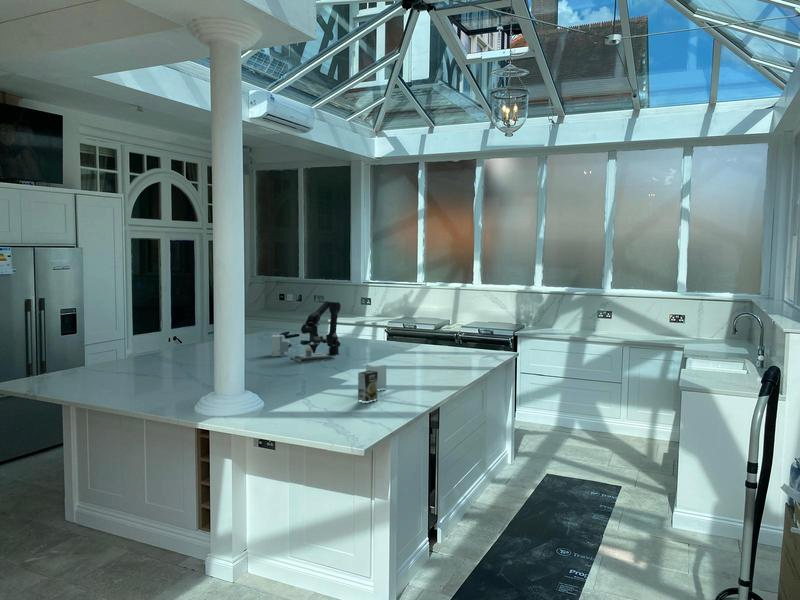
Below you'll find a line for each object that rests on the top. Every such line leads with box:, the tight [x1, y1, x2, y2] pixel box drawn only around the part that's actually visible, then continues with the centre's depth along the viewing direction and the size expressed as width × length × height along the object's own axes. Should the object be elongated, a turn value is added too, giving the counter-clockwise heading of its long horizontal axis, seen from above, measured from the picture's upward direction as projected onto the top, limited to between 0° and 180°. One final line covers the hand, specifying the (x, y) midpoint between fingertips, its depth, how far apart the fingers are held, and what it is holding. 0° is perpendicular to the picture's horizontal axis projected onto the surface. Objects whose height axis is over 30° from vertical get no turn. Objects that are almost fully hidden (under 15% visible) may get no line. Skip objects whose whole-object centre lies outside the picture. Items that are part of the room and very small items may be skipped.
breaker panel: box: [290, 352, 336, 364], centre depth 458 cm, size 26×20×3 cm
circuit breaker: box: [270, 334, 293, 357], centre depth 471 cm, size 8×14×15 cm, turn 89°
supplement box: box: [365, 362, 387, 389], centre depth 365 cm, size 9×9×15 cm
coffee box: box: [357, 370, 379, 401], centre depth 339 cm, size 9×6×16 cm
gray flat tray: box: [293, 355, 332, 361], centre depth 458 cm, size 23×14×1 cm, turn 120°
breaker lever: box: [305, 347, 312, 356], centre depth 456 cm, size 3×3×6 cm
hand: (313, 353), depth 458 cm, fingers closed
